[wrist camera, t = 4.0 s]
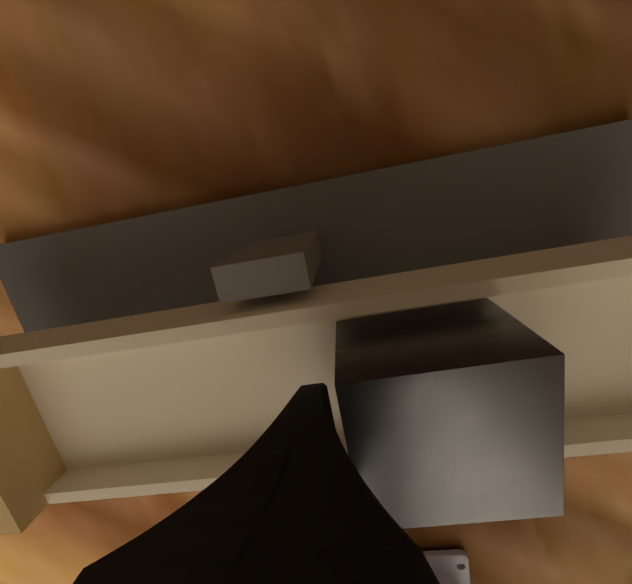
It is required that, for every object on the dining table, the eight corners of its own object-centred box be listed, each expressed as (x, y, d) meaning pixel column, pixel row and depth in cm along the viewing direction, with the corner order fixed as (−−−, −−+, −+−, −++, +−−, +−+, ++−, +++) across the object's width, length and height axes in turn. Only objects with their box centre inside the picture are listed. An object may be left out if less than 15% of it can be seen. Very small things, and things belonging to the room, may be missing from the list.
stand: (612, 408, 18) (750, 522, 12) (99, 459, 22) (3, 565, 16) (629, 120, 14) (848, 67, 8) (5, 244, 18) (-170, 272, 12)
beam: (658, 393, 14) (790, 479, 10) (37, 460, 17) (-57, 544, 13) (676, 216, 12) (851, 230, 8) (-27, 331, 15) (-160, 383, 11)
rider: (493, 414, 12) (563, 515, 8) (356, 430, 13) (364, 532, 9) (487, 297, 11) (564, 353, 7) (335, 321, 12) (334, 384, 8)
